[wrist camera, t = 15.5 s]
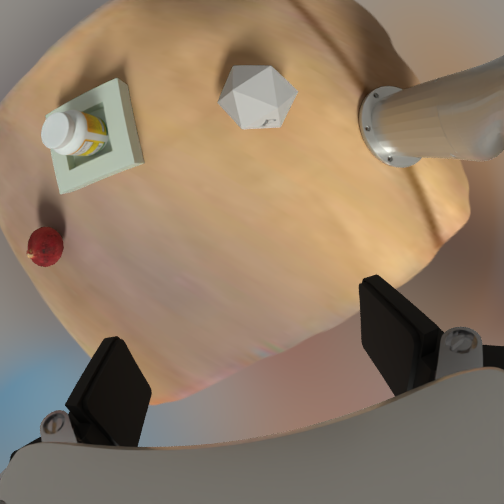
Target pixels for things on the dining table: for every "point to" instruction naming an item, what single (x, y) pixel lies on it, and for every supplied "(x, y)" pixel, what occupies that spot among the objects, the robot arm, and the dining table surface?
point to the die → (257, 96)
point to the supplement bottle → (75, 133)
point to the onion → (45, 246)
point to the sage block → (117, 147)
